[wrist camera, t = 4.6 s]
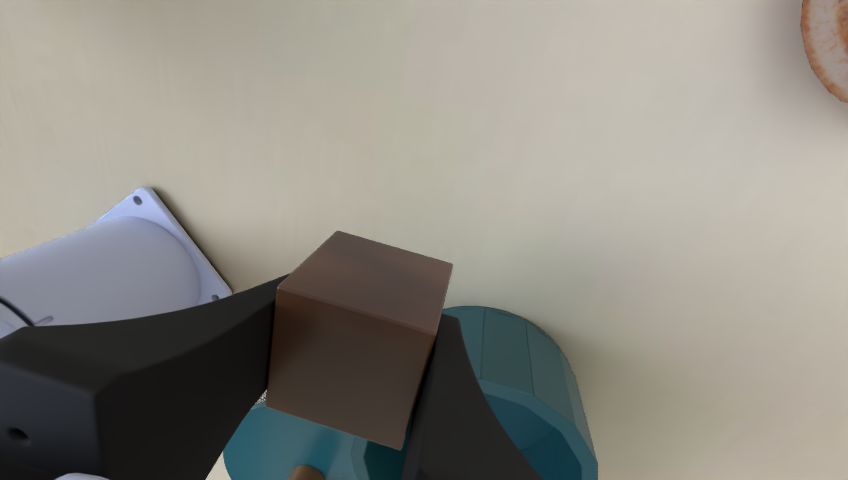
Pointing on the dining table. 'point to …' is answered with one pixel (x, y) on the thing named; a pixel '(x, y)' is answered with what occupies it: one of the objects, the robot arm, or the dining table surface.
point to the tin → (511, 399)
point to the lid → (287, 449)
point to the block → (356, 337)
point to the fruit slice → (827, 43)
